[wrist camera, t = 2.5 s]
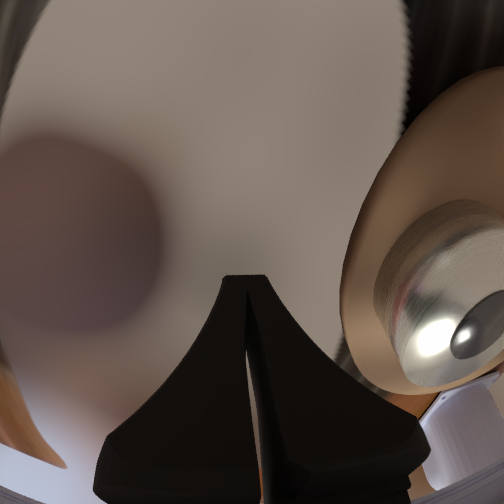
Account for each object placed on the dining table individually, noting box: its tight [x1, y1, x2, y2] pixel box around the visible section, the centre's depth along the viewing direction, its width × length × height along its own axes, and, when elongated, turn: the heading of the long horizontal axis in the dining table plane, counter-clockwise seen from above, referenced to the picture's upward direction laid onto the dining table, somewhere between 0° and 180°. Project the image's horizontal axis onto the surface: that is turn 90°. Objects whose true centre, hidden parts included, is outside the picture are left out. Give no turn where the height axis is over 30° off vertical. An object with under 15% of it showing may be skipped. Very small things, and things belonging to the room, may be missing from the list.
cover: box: [373, 199, 504, 387], centre depth 10 cm, size 7×7×3 cm
